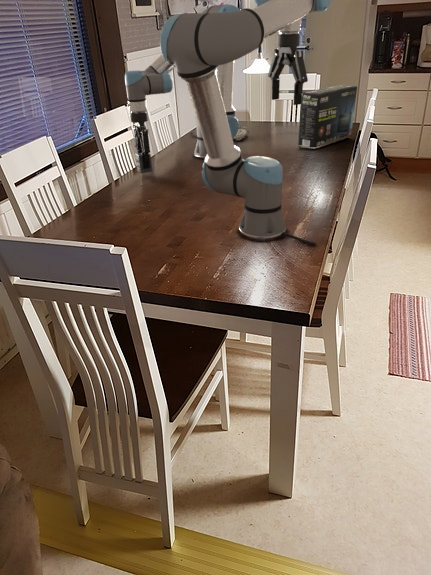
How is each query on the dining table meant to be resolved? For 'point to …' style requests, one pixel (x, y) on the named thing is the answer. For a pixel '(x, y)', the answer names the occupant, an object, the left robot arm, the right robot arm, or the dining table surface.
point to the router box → (326, 115)
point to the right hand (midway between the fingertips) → (286, 102)
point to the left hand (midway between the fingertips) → (144, 166)
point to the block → (140, 163)
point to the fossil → (241, 133)
